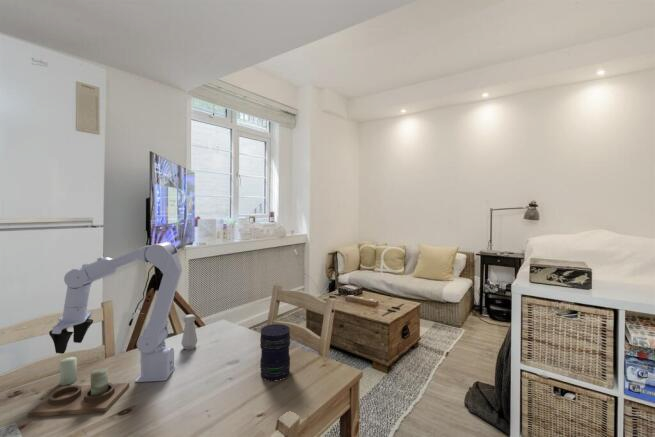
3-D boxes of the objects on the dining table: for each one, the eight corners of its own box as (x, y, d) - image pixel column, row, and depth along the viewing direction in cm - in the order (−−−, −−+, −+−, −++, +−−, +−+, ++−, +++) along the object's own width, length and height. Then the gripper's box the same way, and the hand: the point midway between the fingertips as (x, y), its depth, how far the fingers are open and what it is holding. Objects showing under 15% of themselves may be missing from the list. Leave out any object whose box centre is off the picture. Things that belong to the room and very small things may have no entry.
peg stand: (129, 386, 94) (129, 360, 94) (105, 412, 82) (105, 382, 82) (62, 390, 92) (61, 363, 92) (27, 417, 80) (27, 386, 80)
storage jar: (263, 384, 96) (263, 337, 95) (257, 369, 105) (257, 326, 104) (293, 377, 100) (294, 332, 99) (285, 363, 109) (285, 322, 108)
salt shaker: (191, 351, 117) (191, 318, 117) (178, 350, 119) (178, 317, 118) (200, 345, 123) (200, 313, 123) (187, 343, 124) (187, 312, 124)
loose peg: (80, 377, 99) (79, 356, 99) (71, 384, 95) (70, 362, 95) (66, 378, 98) (66, 357, 98) (57, 385, 94) (56, 363, 94)
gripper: (78, 297, 103) (72, 336, 103) (43, 310, 89) (36, 356, 89) (100, 299, 104) (94, 339, 104) (69, 313, 90) (62, 359, 90)
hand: (69, 347), depth 96 cm, fingers open, 7 cm apart
